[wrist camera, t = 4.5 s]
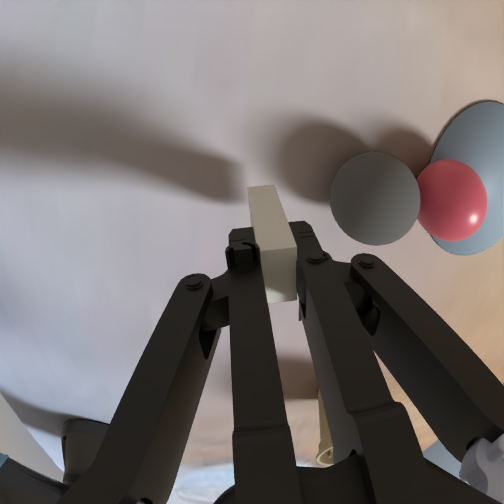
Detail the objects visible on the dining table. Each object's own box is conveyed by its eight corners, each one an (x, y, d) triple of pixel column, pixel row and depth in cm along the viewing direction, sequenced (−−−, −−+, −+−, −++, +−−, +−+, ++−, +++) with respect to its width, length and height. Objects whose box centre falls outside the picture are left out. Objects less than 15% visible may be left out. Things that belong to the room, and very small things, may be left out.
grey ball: (431, 252, 17) (389, 212, 21) (442, 164, 14) (391, 138, 18) (350, 273, 16) (319, 226, 21) (351, 175, 13) (313, 147, 18)
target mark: (409, 263, 24) (410, 264, 24) (432, 89, 16) (433, 89, 16) (512, 246, 24) (513, 247, 24) (540, 115, 16) (541, 115, 16)
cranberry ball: (392, 223, 21) (440, 265, 16) (400, 149, 18) (460, 180, 13) (443, 213, 22) (489, 248, 17) (453, 148, 19) (508, 175, 14)
